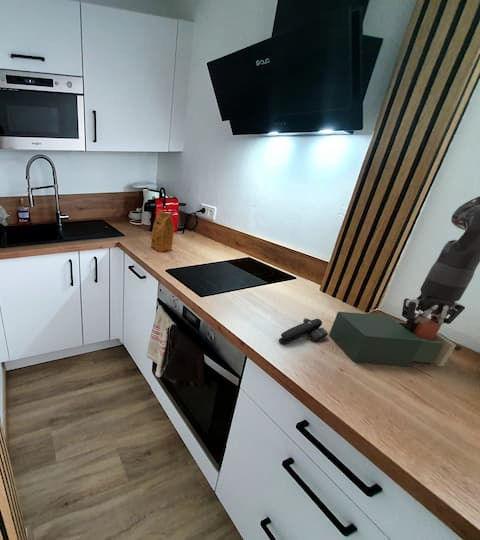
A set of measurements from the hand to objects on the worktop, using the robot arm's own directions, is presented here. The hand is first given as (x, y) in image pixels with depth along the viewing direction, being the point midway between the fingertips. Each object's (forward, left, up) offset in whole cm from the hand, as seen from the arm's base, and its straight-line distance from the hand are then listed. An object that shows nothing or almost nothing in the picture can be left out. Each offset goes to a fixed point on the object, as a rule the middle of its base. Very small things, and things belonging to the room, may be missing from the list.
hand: (418, 332), depth 82 cm
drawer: (0, 0, -7) cm, 7 cm away
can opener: (+27, +12, -8) cm, 30 cm away
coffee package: (+103, -36, -8) cm, 110 cm away
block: (0, 0, 0) cm, 0 cm away
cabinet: (+10, +6, -8) cm, 14 cm away
